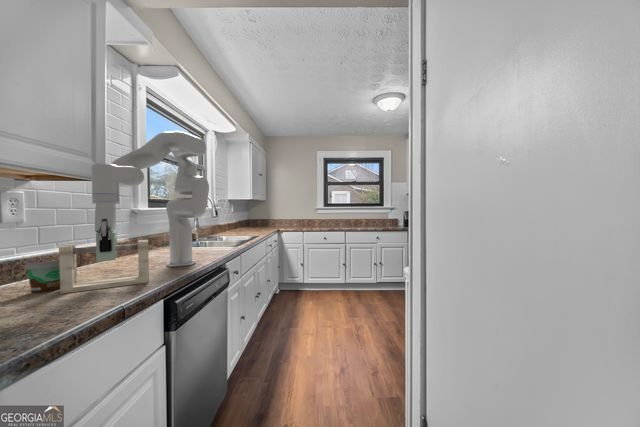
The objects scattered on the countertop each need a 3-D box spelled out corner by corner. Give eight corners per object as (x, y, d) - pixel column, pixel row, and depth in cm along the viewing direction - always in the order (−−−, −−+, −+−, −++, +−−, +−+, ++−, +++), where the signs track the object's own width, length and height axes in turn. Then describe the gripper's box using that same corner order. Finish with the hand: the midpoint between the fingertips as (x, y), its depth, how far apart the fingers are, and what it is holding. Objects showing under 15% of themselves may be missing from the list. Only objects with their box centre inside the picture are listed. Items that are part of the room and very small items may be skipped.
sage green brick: (99, 258, 98) (99, 231, 98) (117, 256, 100) (116, 231, 100) (96, 261, 92) (95, 233, 92) (115, 260, 95) (114, 232, 94)
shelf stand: (65, 288, 93) (64, 244, 92) (148, 278, 106) (148, 239, 105) (60, 293, 88) (58, 247, 87) (148, 282, 100) (147, 241, 100)
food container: (40, 295, 86) (39, 263, 86) (25, 294, 88) (24, 263, 87) (81, 284, 99) (80, 256, 98) (68, 283, 100) (67, 255, 99)
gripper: (96, 199, 101) (97, 248, 102) (87, 198, 86) (88, 255, 87) (121, 200, 105) (122, 246, 106) (116, 199, 90) (117, 252, 91)
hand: (107, 249), depth 96 cm, fingers closed on sage green brick, 7 cm apart
